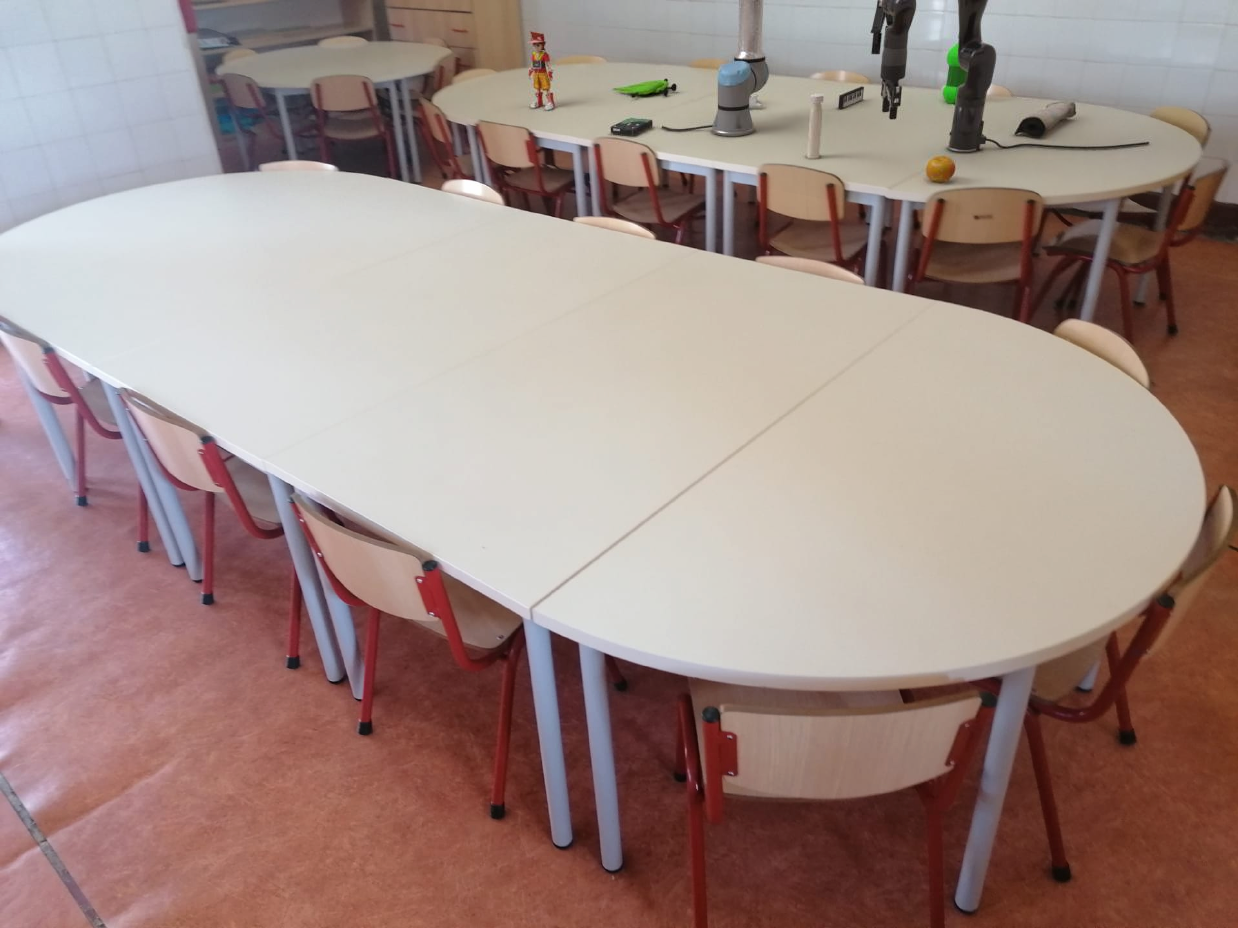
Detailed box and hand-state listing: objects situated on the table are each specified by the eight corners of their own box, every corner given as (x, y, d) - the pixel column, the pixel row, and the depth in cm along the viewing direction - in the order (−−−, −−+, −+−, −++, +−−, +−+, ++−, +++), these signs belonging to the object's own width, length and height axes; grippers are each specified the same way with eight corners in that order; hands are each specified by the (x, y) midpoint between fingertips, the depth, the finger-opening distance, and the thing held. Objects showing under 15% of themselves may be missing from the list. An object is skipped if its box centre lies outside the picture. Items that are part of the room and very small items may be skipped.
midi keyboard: (840, 109, 355) (842, 95, 352) (838, 108, 355) (839, 95, 353) (863, 99, 365) (864, 86, 362) (860, 99, 366) (861, 86, 363)
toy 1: (525, 109, 381) (517, 32, 364) (534, 104, 388) (527, 28, 371) (550, 110, 377) (543, 32, 360) (559, 105, 384) (553, 28, 367)
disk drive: (633, 137, 337) (653, 126, 347) (633, 129, 336) (652, 119, 346) (610, 134, 342) (630, 124, 352) (609, 127, 340) (630, 117, 350)
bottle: (807, 155, 307) (811, 95, 296) (819, 155, 306) (824, 95, 295) (806, 158, 304) (810, 98, 293) (818, 158, 303) (823, 98, 292)
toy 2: (686, 85, 398) (631, 84, 414) (685, 72, 395) (629, 72, 411) (651, 104, 381) (596, 103, 397) (650, 92, 378) (594, 91, 394)
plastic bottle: (973, 101, 354) (984, 32, 339) (955, 106, 349) (966, 36, 335) (952, 97, 361) (962, 29, 346) (934, 102, 356) (944, 33, 342)
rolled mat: (1043, 106, 330) (1068, 89, 322) (1057, 127, 331) (1082, 110, 323) (1010, 128, 313) (1035, 111, 305) (1024, 150, 313) (1050, 133, 305)
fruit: (919, 172, 274) (936, 148, 271) (921, 174, 282) (937, 151, 279) (942, 187, 273) (960, 164, 270) (943, 189, 281) (960, 166, 278)
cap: (811, 100, 297) (811, 93, 296) (823, 100, 296) (824, 93, 295) (810, 103, 294) (810, 96, 293) (822, 103, 293) (823, 96, 292)
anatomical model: (728, 80, 368) (752, 74, 367) (733, 106, 374) (756, 99, 373) (735, 89, 356) (760, 82, 355) (739, 115, 362) (764, 108, 361)
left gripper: (889, -14, 286) (881, 58, 298) (910, -24, 303) (902, 44, 315) (865, -14, 289) (859, 57, 301) (888, -25, 306) (881, 43, 318)
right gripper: (912, 66, 273) (906, 120, 283) (899, 55, 285) (894, 108, 294) (888, 68, 273) (883, 123, 283) (876, 58, 285) (871, 110, 294)
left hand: (881, 50), depth 308 cm, fingers open, 13 cm apart
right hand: (889, 115), depth 289 cm, fingers open, 8 cm apart
